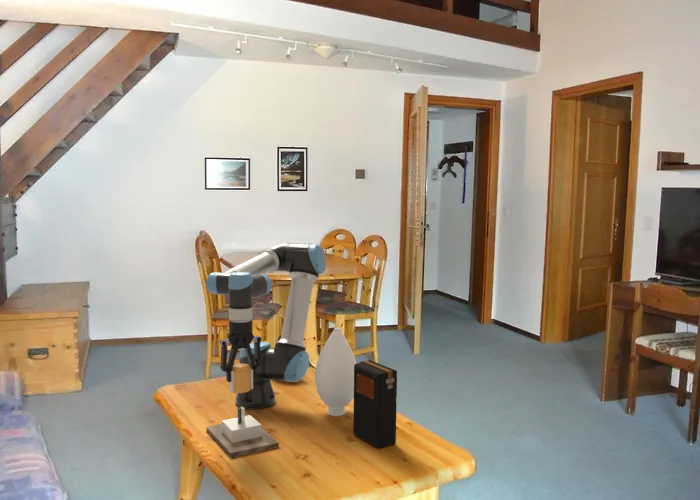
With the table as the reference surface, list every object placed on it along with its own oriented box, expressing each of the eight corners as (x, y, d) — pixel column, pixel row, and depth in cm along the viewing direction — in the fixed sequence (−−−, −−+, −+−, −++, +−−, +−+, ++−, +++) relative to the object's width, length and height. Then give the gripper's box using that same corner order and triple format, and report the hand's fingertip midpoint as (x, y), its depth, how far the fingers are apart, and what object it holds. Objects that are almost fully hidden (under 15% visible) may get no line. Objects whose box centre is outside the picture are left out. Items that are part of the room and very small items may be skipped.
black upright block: (399, 444, 193) (400, 369, 191) (378, 450, 188) (379, 373, 186) (370, 428, 206) (371, 358, 204) (349, 434, 201) (350, 362, 199)
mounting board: (250, 422, 211) (250, 418, 211) (278, 447, 190) (278, 442, 190) (206, 430, 202) (206, 426, 202) (230, 457, 182) (230, 453, 182)
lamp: (309, 408, 225) (309, 317, 221) (347, 403, 231) (348, 314, 228) (324, 423, 210) (324, 326, 207) (364, 417, 216) (366, 322, 213)
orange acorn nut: (246, 386, 199) (246, 362, 198) (252, 391, 194) (252, 367, 193) (229, 388, 196) (229, 365, 195) (235, 394, 191) (235, 369, 190)
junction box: (250, 426, 203) (250, 400, 202) (261, 436, 194) (261, 410, 194) (221, 432, 198) (221, 405, 197) (232, 442, 189) (231, 415, 189)
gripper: (263, 315, 201) (263, 382, 203) (208, 320, 191) (209, 390, 193) (272, 319, 194) (272, 388, 196) (216, 325, 185) (217, 397, 187)
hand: (241, 389), depth 195 cm, fingers closed on orange acorn nut, 6 cm apart
